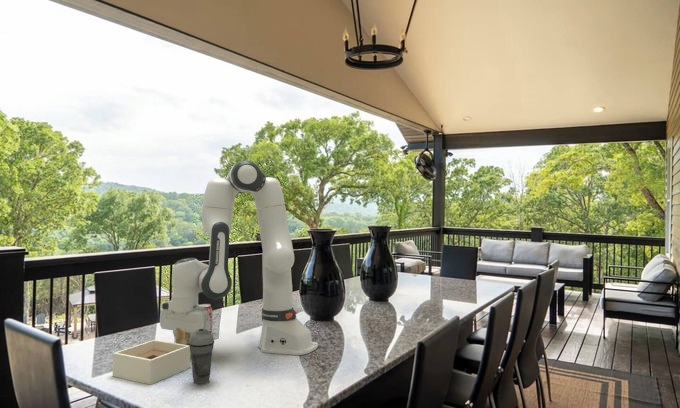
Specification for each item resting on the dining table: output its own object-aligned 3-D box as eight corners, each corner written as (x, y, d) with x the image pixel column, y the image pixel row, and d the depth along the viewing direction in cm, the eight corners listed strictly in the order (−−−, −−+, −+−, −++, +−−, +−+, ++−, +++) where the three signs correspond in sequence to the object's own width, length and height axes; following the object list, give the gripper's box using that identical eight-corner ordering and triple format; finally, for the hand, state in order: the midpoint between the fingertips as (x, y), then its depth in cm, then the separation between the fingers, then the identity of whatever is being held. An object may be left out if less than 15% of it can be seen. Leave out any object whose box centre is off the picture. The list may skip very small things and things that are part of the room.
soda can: (207, 337, 180) (207, 307, 180) (191, 336, 181) (191, 306, 181) (215, 332, 187) (215, 304, 187) (199, 331, 188) (200, 303, 188)
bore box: (189, 367, 145) (190, 345, 145) (150, 384, 131) (150, 360, 131) (153, 360, 152) (154, 339, 152) (112, 376, 137) (112, 353, 137)
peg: (193, 355, 158) (193, 326, 158) (184, 358, 154) (185, 329, 154) (184, 353, 159) (184, 325, 159) (176, 356, 156) (176, 328, 156)
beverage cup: (191, 377, 136) (192, 311, 137) (216, 376, 137) (216, 311, 137) (185, 387, 129) (186, 317, 129) (211, 386, 130) (211, 317, 130)
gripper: (214, 305, 155) (214, 345, 155) (170, 300, 164) (170, 338, 164) (201, 309, 150) (201, 350, 150) (156, 303, 158) (156, 342, 158)
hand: (184, 344), depth 157 cm, fingers closed on peg, 4 cm apart
